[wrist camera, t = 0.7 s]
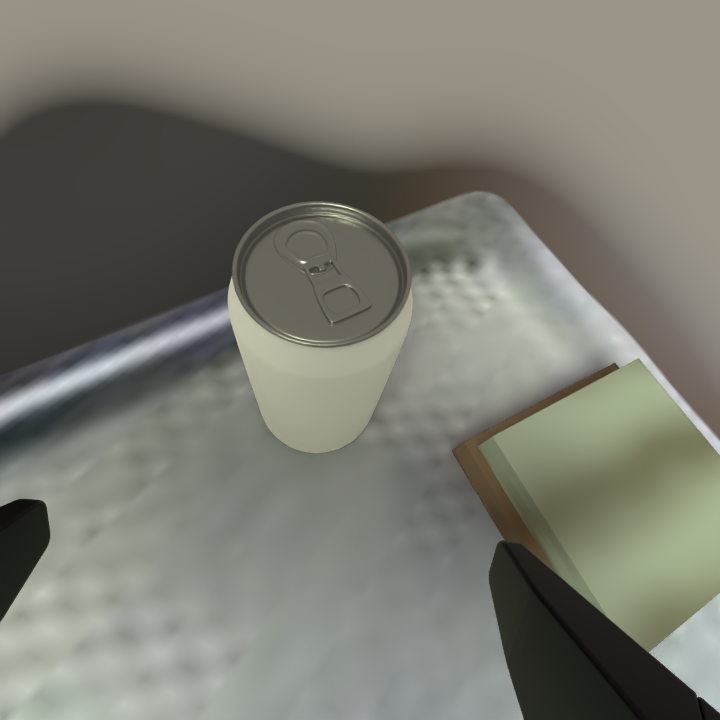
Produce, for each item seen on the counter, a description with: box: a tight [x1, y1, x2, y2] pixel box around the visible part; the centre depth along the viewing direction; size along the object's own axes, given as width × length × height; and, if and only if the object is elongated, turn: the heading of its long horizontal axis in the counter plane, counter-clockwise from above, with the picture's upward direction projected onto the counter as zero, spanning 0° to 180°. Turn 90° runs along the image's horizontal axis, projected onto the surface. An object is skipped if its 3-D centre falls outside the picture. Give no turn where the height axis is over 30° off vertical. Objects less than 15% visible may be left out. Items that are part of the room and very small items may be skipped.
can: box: [228, 201, 413, 453], centre depth 18 cm, size 6×6×12 cm
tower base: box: [452, 358, 720, 652], centre depth 21 cm, size 11×11×4 cm
